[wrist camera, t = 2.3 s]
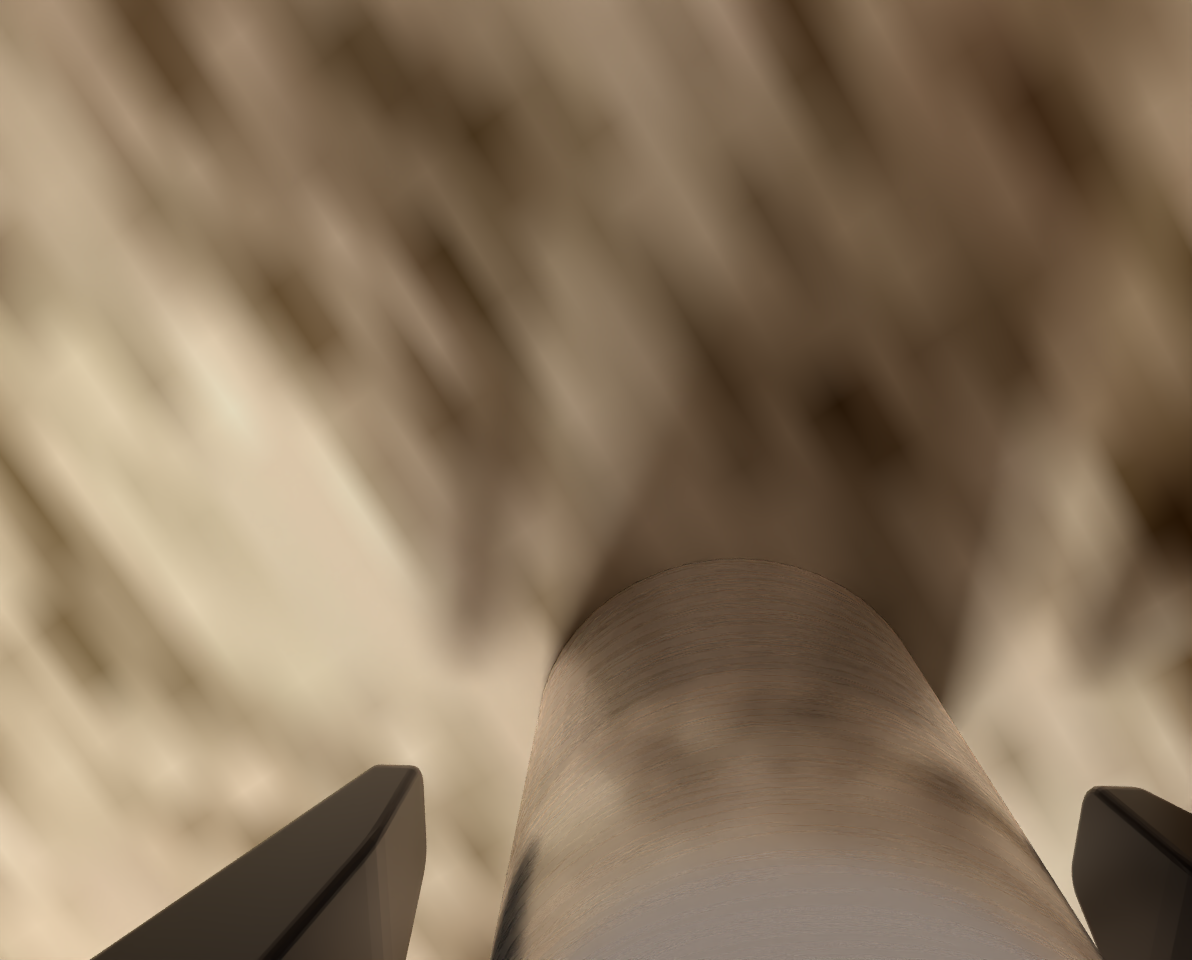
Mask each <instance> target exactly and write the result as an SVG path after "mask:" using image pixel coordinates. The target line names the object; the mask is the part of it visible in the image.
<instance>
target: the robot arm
mask: <svg viewBox="0 0 1192 960" xmlns="http://www.w3.org/2000/svg"><path fill="white" fill-rule="evenodd" d="M425 862H426V825H425V805H424V785H423V777H422V774H421V772H420V770H419V768H417V767H416V766H410V765H376V766H374V767H372V768H370V769H368V770H367V771H365V772H364V773H363V774H361V775H360V776H358V777H357V778H355V779H354V780H352V781H351V782H349V783H348V784H346V785H345V786H343V787H342V788H341V789H339V790H338V791H336V792H335V793H333V794H332V795H330V796H329V797H327V798H326V799H324V800H323V801H322V802H320V803H319V804H317V805H316V806H314V807H313V808H311V809H310V810H308V811H307V812H305V813H304V814H302V815H301V816H300V817H298V818H297V819H295V820H294V821H292V822H291V823H289V824H288V825H286V826H285V827H283V828H282V829H281V830H279V831H278V832H276V833H275V834H273V835H272V836H270V837H269V838H267V839H266V840H264V841H263V842H262V843H260V844H259V845H257V846H256V847H254V848H253V849H251V850H250V851H248V852H247V853H245V854H244V855H242V856H241V857H240V858H238V859H237V860H235V861H234V862H232V863H231V864H229V865H228V866H226V867H225V868H223V869H222V870H221V871H219V872H218V873H216V874H215V875H213V876H212V877H210V878H209V879H207V880H206V881H204V882H203V883H201V884H200V885H199V886H197V887H196V888H194V889H193V890H191V891H190V892H188V893H187V894H185V895H184V896H182V897H181V898H180V899H178V900H177V901H175V902H174V903H172V904H171V905H169V906H168V907H166V908H165V909H163V910H162V911H161V912H159V913H158V914H156V915H155V916H153V917H152V918H150V919H149V920H147V921H146V922H144V923H143V924H141V925H140V926H139V927H137V928H136V929H134V930H133V931H131V932H130V933H128V934H127V935H125V936H124V937H122V938H121V939H120V940H118V941H117V942H115V943H114V944H112V945H111V946H109V947H108V948H106V949H105V950H103V951H102V952H100V953H99V954H98V955H96V956H95V957H93V958H92V959H90V960H406V956H407V951H408V946H409V942H410V937H411V932H412V927H413V923H414V918H415V913H416V908H417V904H418V899H419V894H420V889H421V885H422V880H423V875H424V870H425ZM1072 881H1073V886H1074V890H1075V894H1076V897H1077V899H1078V902H1079V904H1080V907H1081V909H1082V912H1083V914H1084V917H1085V919H1086V922H1087V924H1088V926H1089V929H1090V931H1091V934H1092V936H1093V939H1094V941H1095V944H1096V946H1097V949H1098V951H1099V952H1100V954H1101V955H1102V957H1103V958H1104V960H1192V814H1191V813H1189V812H1187V811H1185V810H1183V809H1181V808H1179V807H1177V806H1175V805H1173V804H1172V803H1170V802H1168V801H1166V800H1164V799H1162V798H1160V797H1158V796H1156V795H1154V794H1152V793H1150V792H1148V791H1146V790H1144V789H1141V788H1136V787H1119V786H1095V787H1093V788H1092V789H1090V790H1089V791H1087V793H1086V795H1085V797H1084V800H1083V803H1082V808H1081V814H1080V820H1079V826H1078V831H1077V837H1076V843H1075V849H1074V855H1073V861H1072Z"/></svg>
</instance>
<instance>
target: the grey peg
mask: <svg viewBox="0 0 1192 960" xmlns="http://www.w3.org/2000/svg"><path fill="white" fill-rule="evenodd" d="M490 960H1104V958H1103V957H1102V955H1101V954H1100V952H1099V951H1098V949H1097V947H1096V946H1095V944H1094V943H1093V941H1092V940H1091V938H1090V936H1089V935H1088V933H1087V932H1086V930H1085V929H1084V927H1083V925H1082V924H1081V922H1080V921H1079V919H1078V918H1077V916H1076V914H1075V913H1074V911H1073V910H1072V908H1071V907H1070V905H1069V904H1068V902H1067V900H1066V899H1065V897H1064V896H1063V894H1062V893H1061V891H1060V889H1059V888H1058V886H1057V885H1056V883H1055V882H1054V880H1053V878H1052V877H1051V875H1050V874H1049V872H1048V871H1047V869H1046V867H1045V866H1044V864H1043V863H1042V861H1041V860H1040V858H1039V856H1038V855H1037V853H1036V852H1035V850H1034V849H1033V847H1032V845H1031V844H1030V842H1029V841H1028V839H1027V838H1026V836H1025V834H1024V833H1023V831H1022V830H1021V828H1020V827H1019V825H1018V823H1017V822H1016V820H1015V819H1014V817H1013V816H1012V814H1011V812H1010V811H1009V809H1008V808H1007V806H1006V805H1005V803H1004V801H1003V800H1002V798H1001V797H1000V795H999V794H998V792H997V790H996V789H995V787H994V786H993V784H992V783H991V781H990V780H989V778H988V776H987V775H986V773H985V772H984V770H983V769H982V767H981V765H980V764H979V762H978V761H977V759H976V758H975V756H974V754H973V753H972V751H971V750H970V748H969V747H968V745H967V743H966V742H965V740H964V739H963V737H962V736H961V734H960V732H959V731H958V729H957V728H956V726H955V725H954V723H953V721H952V720H951V718H950V717H949V715H948V714H947V712H946V710H945V709H944V707H943V706H942V704H941V703H940V701H939V699H938V698H937V696H936V695H935V693H934V692H933V690H932V688H931V687H930V685H929V684H928V682H927V681H926V679H925V677H924V676H923V674H922V673H921V671H920V670H919V668H918V666H917V665H916V663H915V662H914V660H913V659H912V657H911V656H910V654H909V652H908V651H907V649H906V648H905V646H904V645H903V643H902V641H901V640H900V638H899V637H898V635H897V634H896V633H895V632H894V631H893V630H892V628H891V627H890V626H889V625H888V624H887V622H886V621H885V620H884V619H883V618H882V617H881V616H880V615H879V614H878V613H877V612H876V611H874V610H873V609H872V608H871V607H870V606H869V605H868V604H867V603H865V602H864V601H863V600H862V599H860V598H859V597H857V596H856V595H854V594H853V593H851V592H850V591H848V590H847V589H845V588H844V587H842V586H840V585H838V584H836V583H834V582H832V581H830V580H828V579H826V578H824V577H822V576H820V575H817V574H815V573H812V572H809V571H806V570H803V569H800V568H797V567H794V566H790V565H785V564H780V563H775V562H771V561H763V560H751V559H720V560H709V561H703V562H697V563H691V564H686V565H682V566H679V567H676V568H672V569H669V570H665V571H662V572H659V573H657V574H655V575H653V576H650V577H648V578H646V579H643V580H641V581H639V582H637V583H635V584H633V585H632V586H630V587H628V588H626V589H625V590H623V591H621V592H620V593H618V594H616V595H615V596H613V597H612V598H611V599H610V600H608V601H607V602H606V603H605V604H603V605H602V606H601V607H599V608H598V609H597V610H596V611H594V612H593V613H592V615H591V616H590V617H589V618H588V619H587V620H586V621H585V622H584V623H583V624H582V625H581V626H580V627H579V628H578V629H577V630H576V632H575V633H574V634H573V636H572V637H571V638H570V640H569V641H568V642H567V644H566V645H565V646H564V648H563V649H562V651H561V653H560V655H559V657H558V659H557V660H556V662H555V664H554V666H553V668H552V670H551V673H550V675H549V678H548V681H547V683H546V686H545V689H544V692H543V697H542V701H541V706H540V711H539V716H538V721H537V726H536V731H535V736H534V741H533V746H532V751H531V756H530V761H529V766H528V771H527V776H526V781H525V786H524V791H523V796H522V801H521V806H520V811H519V816H518V821H517V826H516V831H515V836H514V841H513V846H512V851H511V856H510V861H509V866H508V871H507V876H506V881H505V886H504V891H503V897H502V902H501V907H500V912H499V917H498V922H497V927H496V932H495V937H494V942H493V947H492V952H491V957H490Z"/></svg>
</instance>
